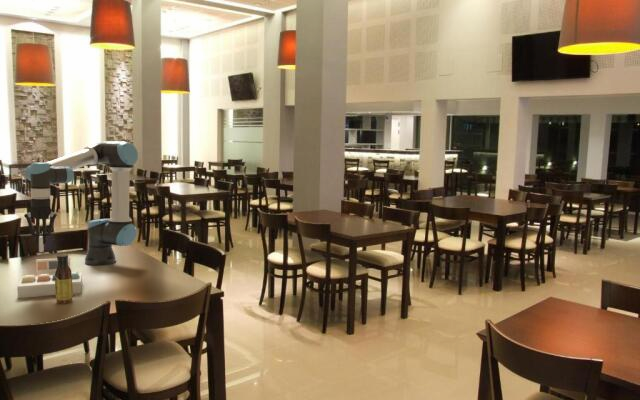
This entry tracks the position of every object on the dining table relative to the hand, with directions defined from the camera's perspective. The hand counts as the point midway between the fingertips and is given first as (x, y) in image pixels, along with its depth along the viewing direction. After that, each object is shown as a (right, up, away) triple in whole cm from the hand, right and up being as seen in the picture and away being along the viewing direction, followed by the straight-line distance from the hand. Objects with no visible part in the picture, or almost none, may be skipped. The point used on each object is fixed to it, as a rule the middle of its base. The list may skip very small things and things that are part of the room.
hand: (41, 251), depth 229 cm
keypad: (+5, -17, 0) cm, 18 cm away
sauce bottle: (+18, -20, -15) cm, 30 cm away
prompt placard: (0, -15, +12) cm, 19 cm away
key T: (-3, -14, -4) cm, 15 cm away
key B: (+2, -14, -2) cm, 14 cm away
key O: (+7, -14, +1) cm, 16 cm away
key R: (+13, -14, +3) cm, 19 cm away
